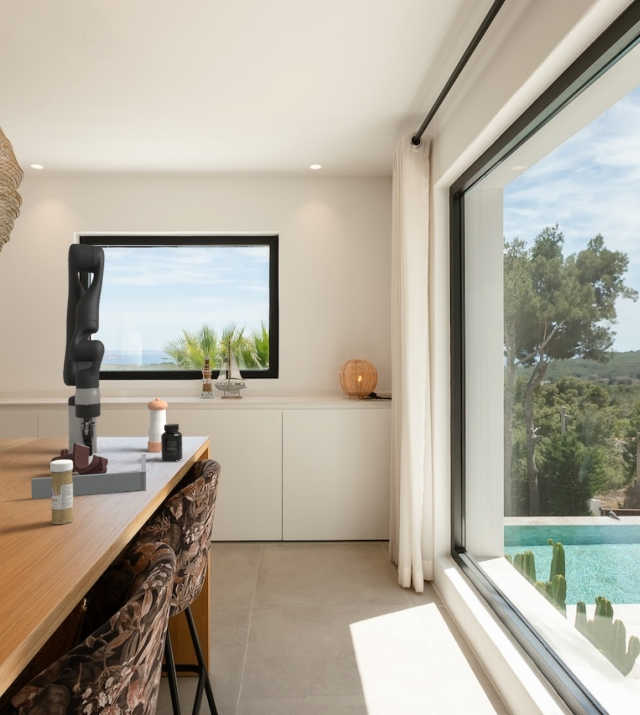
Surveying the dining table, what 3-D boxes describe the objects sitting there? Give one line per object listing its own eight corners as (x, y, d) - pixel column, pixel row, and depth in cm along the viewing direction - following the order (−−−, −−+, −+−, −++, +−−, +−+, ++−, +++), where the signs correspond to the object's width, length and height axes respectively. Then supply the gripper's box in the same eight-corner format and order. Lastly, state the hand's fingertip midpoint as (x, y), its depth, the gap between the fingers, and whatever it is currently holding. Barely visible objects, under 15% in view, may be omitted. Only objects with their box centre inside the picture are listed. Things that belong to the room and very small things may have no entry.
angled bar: (47, 477, 168) (47, 460, 168) (145, 470, 176) (145, 454, 176) (31, 499, 144) (31, 479, 144) (146, 490, 152) (145, 471, 152)
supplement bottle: (186, 458, 194) (186, 423, 193) (175, 462, 187) (174, 426, 187) (169, 457, 196) (168, 422, 195) (157, 461, 189) (156, 425, 189)
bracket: (98, 471, 163) (99, 437, 166) (48, 481, 166) (50, 447, 170) (111, 475, 168) (112, 442, 172) (62, 484, 172) (64, 451, 176)
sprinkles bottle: (47, 522, 125) (46, 461, 125) (67, 517, 129) (66, 458, 128) (57, 526, 122) (55, 464, 122) (77, 521, 126) (76, 460, 125)
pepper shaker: (168, 451, 206) (167, 398, 205) (147, 452, 204) (146, 399, 203) (168, 448, 213) (168, 397, 212) (148, 449, 211) (147, 397, 211)
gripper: (77, 400, 188) (78, 452, 189) (72, 404, 176) (73, 460, 176) (101, 399, 191) (102, 451, 191) (98, 403, 178) (99, 459, 178)
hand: (88, 455), depth 184 cm, fingers closed
